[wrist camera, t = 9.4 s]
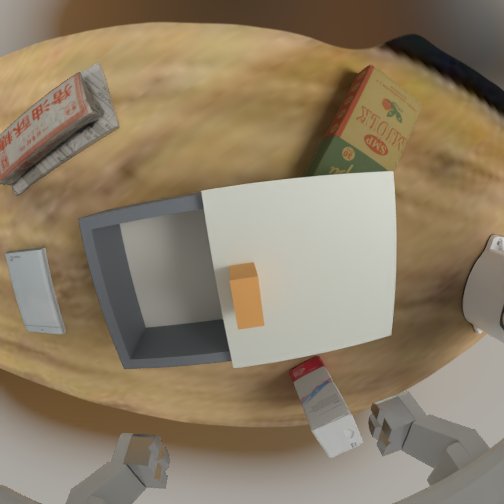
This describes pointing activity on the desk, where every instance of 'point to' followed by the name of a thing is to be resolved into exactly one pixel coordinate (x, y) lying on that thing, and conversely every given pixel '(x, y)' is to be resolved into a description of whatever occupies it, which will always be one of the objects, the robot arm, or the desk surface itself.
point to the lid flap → (303, 263)
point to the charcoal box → (157, 282)
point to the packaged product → (56, 129)
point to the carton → (367, 128)
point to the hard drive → (35, 291)
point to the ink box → (325, 408)
